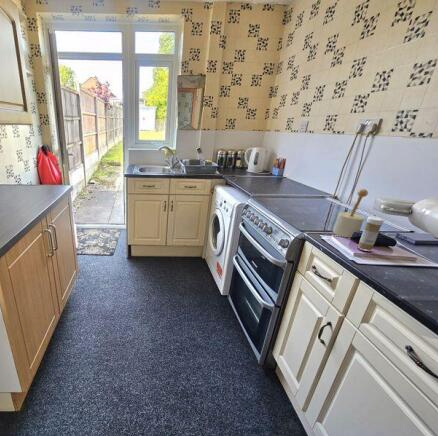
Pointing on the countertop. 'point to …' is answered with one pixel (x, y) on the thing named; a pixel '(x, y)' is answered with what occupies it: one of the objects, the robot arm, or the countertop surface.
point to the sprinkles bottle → (370, 232)
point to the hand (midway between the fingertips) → (406, 203)
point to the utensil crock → (350, 219)
